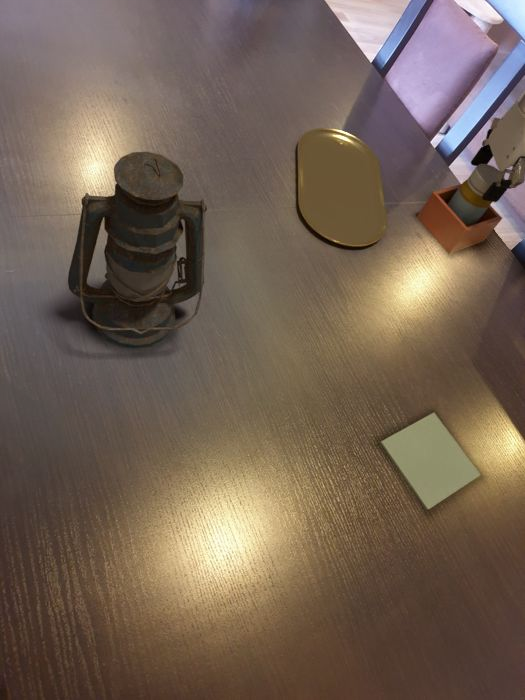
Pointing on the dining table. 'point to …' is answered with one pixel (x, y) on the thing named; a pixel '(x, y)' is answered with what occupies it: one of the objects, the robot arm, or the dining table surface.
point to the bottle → (473, 194)
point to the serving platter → (340, 188)
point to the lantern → (140, 252)
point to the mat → (430, 460)
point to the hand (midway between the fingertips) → (483, 182)
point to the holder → (454, 222)
